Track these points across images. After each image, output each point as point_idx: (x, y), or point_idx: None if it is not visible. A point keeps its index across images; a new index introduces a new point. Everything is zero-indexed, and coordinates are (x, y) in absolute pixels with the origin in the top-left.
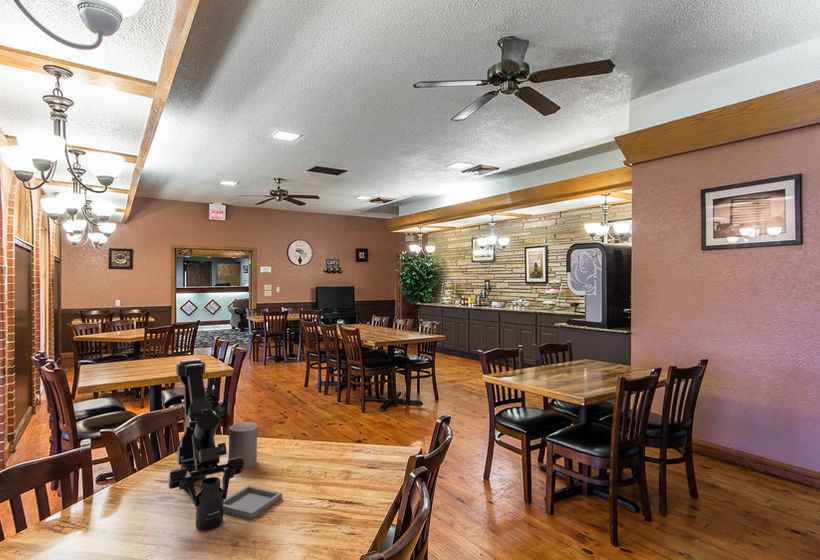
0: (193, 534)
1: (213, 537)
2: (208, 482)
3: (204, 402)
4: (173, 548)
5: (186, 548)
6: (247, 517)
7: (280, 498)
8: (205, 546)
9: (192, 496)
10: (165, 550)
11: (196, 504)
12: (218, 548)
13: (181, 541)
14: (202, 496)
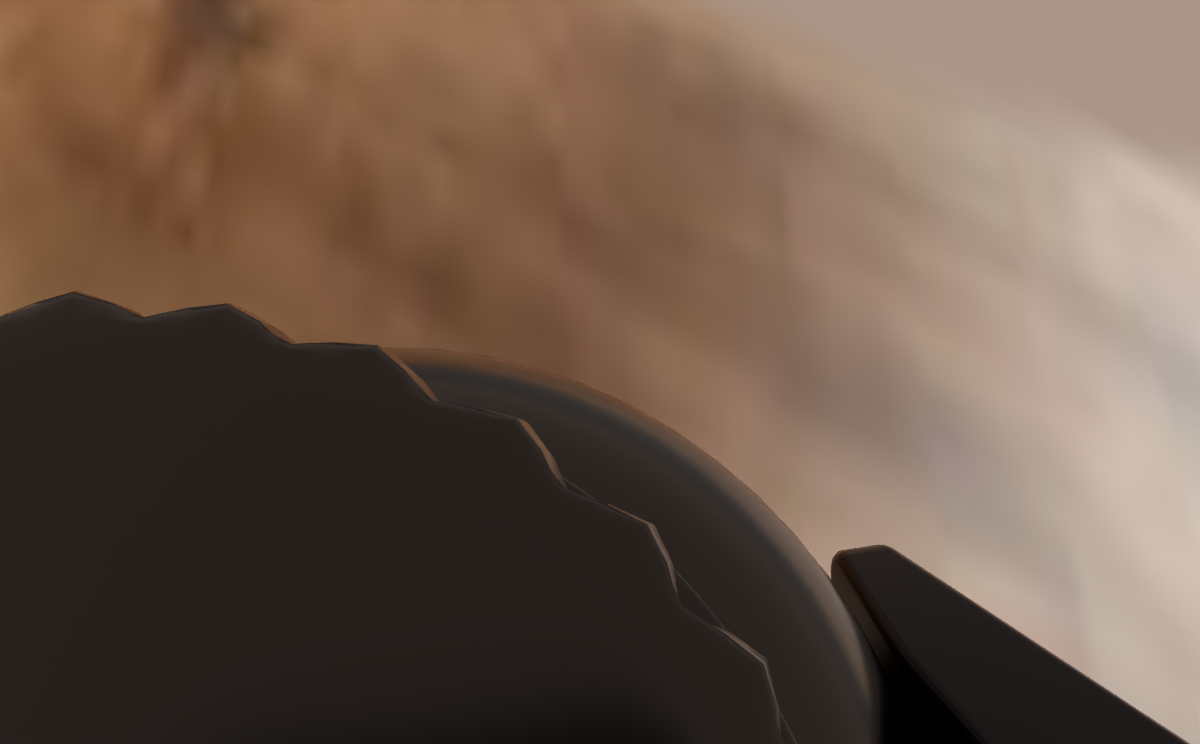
0: None
1: (478, 314)
2: (209, 700)
3: None
4: (1055, 243)
5: (863, 170)
6: None
7: None
8: (600, 117)
9: (1152, 724)
10: (1165, 235)
11: (870, 555)
12: (433, 5)
13: (965, 399)
14: (692, 492)
